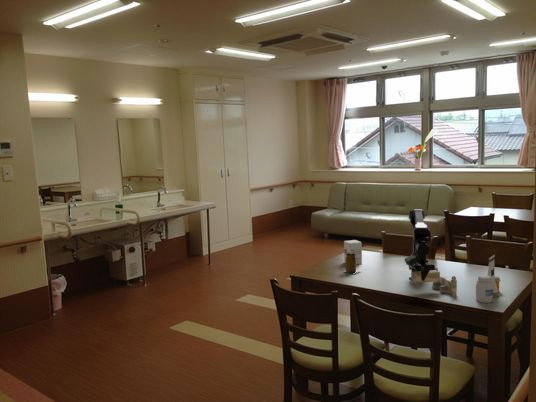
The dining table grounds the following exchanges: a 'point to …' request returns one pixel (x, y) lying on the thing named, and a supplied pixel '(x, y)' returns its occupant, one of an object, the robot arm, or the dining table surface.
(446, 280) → the beige base with posts
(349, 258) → the condiment
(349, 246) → the supplement box
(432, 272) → the beige rectangular block
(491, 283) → the toiletry set
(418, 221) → the robot arm
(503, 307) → the dining table surface
